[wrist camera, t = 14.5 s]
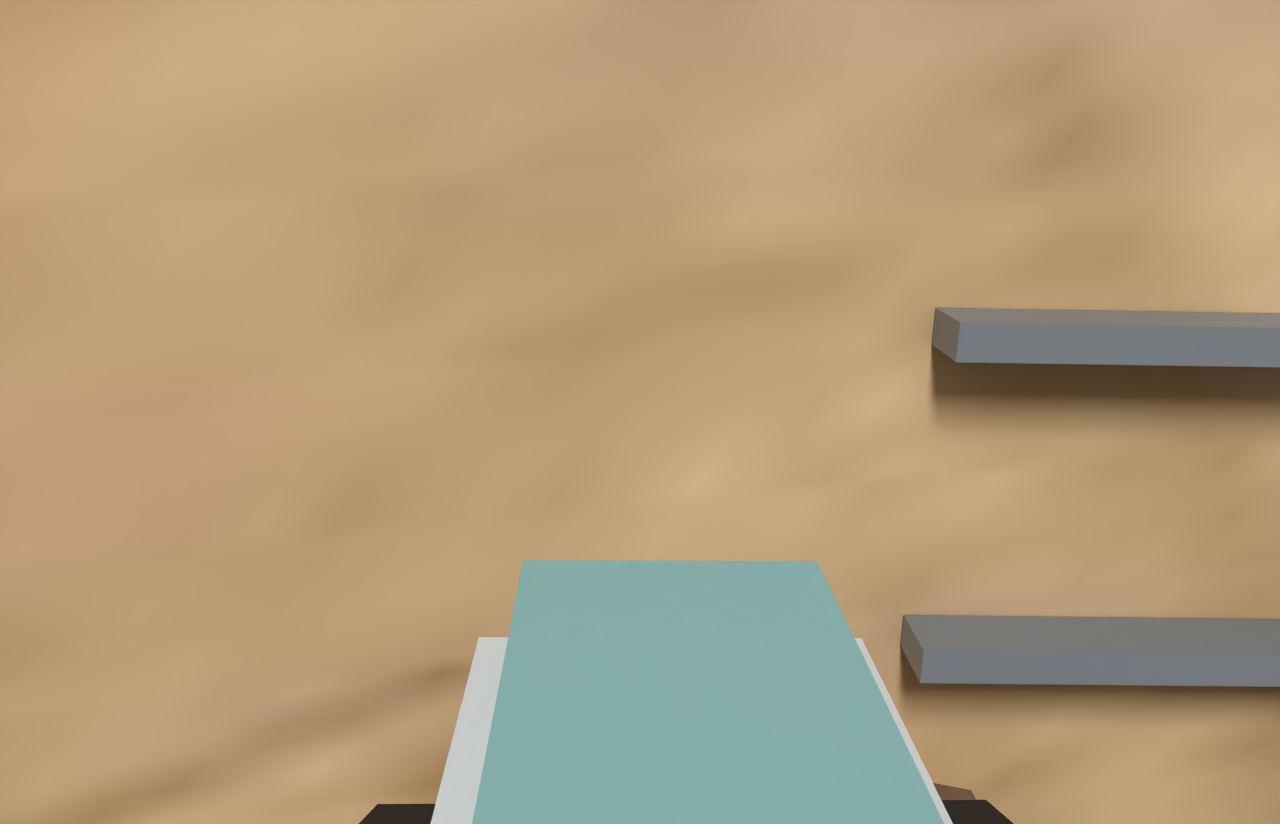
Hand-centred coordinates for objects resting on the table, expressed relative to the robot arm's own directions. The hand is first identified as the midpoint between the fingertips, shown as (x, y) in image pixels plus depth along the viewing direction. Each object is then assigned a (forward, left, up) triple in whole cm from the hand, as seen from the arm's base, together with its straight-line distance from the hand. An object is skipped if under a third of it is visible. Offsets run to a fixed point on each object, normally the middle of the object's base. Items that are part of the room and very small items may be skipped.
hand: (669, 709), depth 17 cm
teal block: (0, 0, 0) cm, 0 cm away
